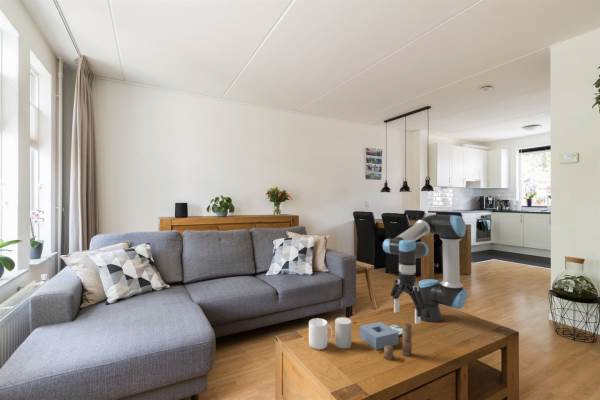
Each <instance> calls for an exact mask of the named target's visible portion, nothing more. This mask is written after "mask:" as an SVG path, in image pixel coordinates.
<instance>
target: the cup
mask: <svg viewBox="0 0 600 400" xmlns="http://www.w3.org/2000/svg"><path fill="white" fill-rule="evenodd" d="M334 335H335V337H334V345H335V346H336V347H337V348H340V349H349V348H351V346H352V320H351V318H347V317H344V316H343V317H337V318H335V320H334Z"/></svg>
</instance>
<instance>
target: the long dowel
mask: <svg viewBox="0 0 600 400" xmlns="http://www.w3.org/2000/svg"><path fill="white" fill-rule="evenodd" d="M401 340H402V341H401V342H402V356H404V357H406V358H407V357H412V324H410V323H407V322H405V323H402V339H401Z"/></svg>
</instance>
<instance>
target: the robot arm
mask: <svg viewBox="0 0 600 400" xmlns="http://www.w3.org/2000/svg"><path fill="white" fill-rule="evenodd" d="M466 231H467V226H466V221H465V220H464V218H463V217H462V216H460V215H454V214H453V215H452V214H430V215H427V216H424V217H422V218H420V219H418V220H417V221H416V222H415V223H414V225H412V226H410V227H409V228H408V229H406V230H405V231H403V232H401V233H400V234H398V235H397V236H395V237H394V238H386V239H384V241H383V242H382V249H383V250H382V251H384V252H385V253H387V254H390V255H391V254H393V255H398V279H395V280H394V285H393V286H392V289H391V293H389V294H390V296H391V297H392V298H393V312H394V314H396V313H399V312H400V302H401V301H400V296H401V295H402V294H403V293H406V294H408V295H409V296H410V299H411V301H412V302H413V304H414V307H415V309H414V324H415V325H416V324H421V323H422V322H421V320H422V321H424V322H428V323H438V322H441V321H442V320H443V315H442V313H441V310H440V305H442V306H446V307H449V308H452V309H458V310H459V309H460V310H461V309H462V308H463V307H464V306H465V304H466V302H467V298H468V291H467V290H466V289H464V285H463V283H462V282H461V280H460V279H461V277H460V275H461V274H460V271H461V270H460V241H462V240H463V237H465V235H466ZM429 234H433V235H439V239H440V240H441V241H442V277H443V278H442V280H441V282H440V281H439V280H438V279H432V278H430V279H429V278H427V279H421V280H420V281H418V286H417V285H416V286H415V282H416V280H417V279H416V277H417V276H416V272H417V271H416V270H417V269H416V261H417V260H416V259H420V258H423V257H426V256H427V255H428V254H429V252H430V249H429V248H430V247H429V246H428V244H427V243H426V242H423V241H418V240H419V239H420V238H421V237H423V236H427V235H429Z"/></svg>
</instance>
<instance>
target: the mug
mask: <svg viewBox="0 0 600 400" xmlns="http://www.w3.org/2000/svg"><path fill="white" fill-rule="evenodd" d="M328 328H329V329H330V331H331V334H330V337H328V334H329V333H328V331H329V330H328ZM333 331H334V330H333V327H332V326H331V325H329V324H328V321H327V320H326V319H324V318H319V317H316V318H312V319H310V320H309V321H308V345H309V347H310V348H311V349H314V350H317V351H320V350H324V349H326V348H327V347H328V341H330V340H332V338H333V336H334V335H333V334H334V333H333Z"/></svg>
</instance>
